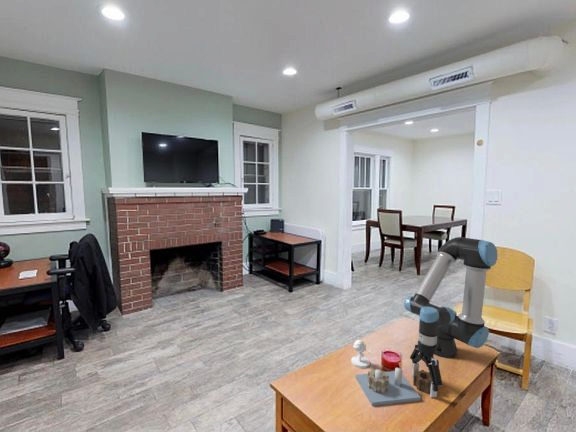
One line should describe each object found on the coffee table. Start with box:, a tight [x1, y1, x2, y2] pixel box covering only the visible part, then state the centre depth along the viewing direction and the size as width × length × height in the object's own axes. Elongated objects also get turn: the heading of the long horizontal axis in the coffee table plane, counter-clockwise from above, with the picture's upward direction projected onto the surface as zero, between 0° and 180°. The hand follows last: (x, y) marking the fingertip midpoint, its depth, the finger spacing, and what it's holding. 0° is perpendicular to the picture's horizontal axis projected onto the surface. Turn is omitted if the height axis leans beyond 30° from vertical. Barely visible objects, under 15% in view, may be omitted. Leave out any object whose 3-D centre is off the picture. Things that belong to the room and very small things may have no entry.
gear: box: [367, 368, 389, 394], centre depth 132 cm, size 9×9×5 cm
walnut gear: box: [412, 369, 432, 394], centre depth 134 cm, size 9×9×5 cm
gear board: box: [355, 367, 422, 407], centre depth 132 cm, size 22×18×8 cm
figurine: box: [351, 339, 370, 369], centre depth 151 cm, size 9×9×12 cm
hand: (423, 386), depth 134 cm, fingers open, 13 cm apart
